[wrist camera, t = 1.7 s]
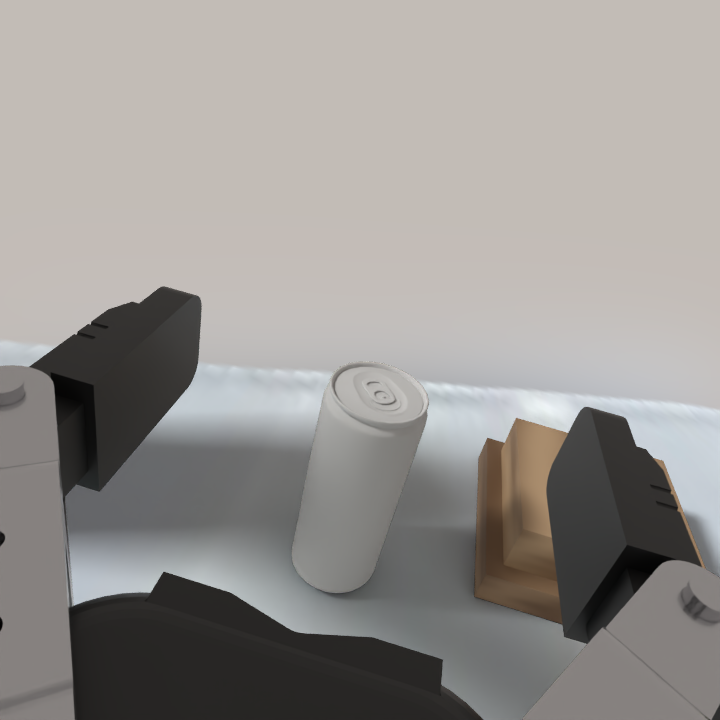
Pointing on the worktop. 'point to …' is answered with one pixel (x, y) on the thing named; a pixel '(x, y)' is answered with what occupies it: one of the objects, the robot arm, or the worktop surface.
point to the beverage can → (356, 473)
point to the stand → (521, 521)
